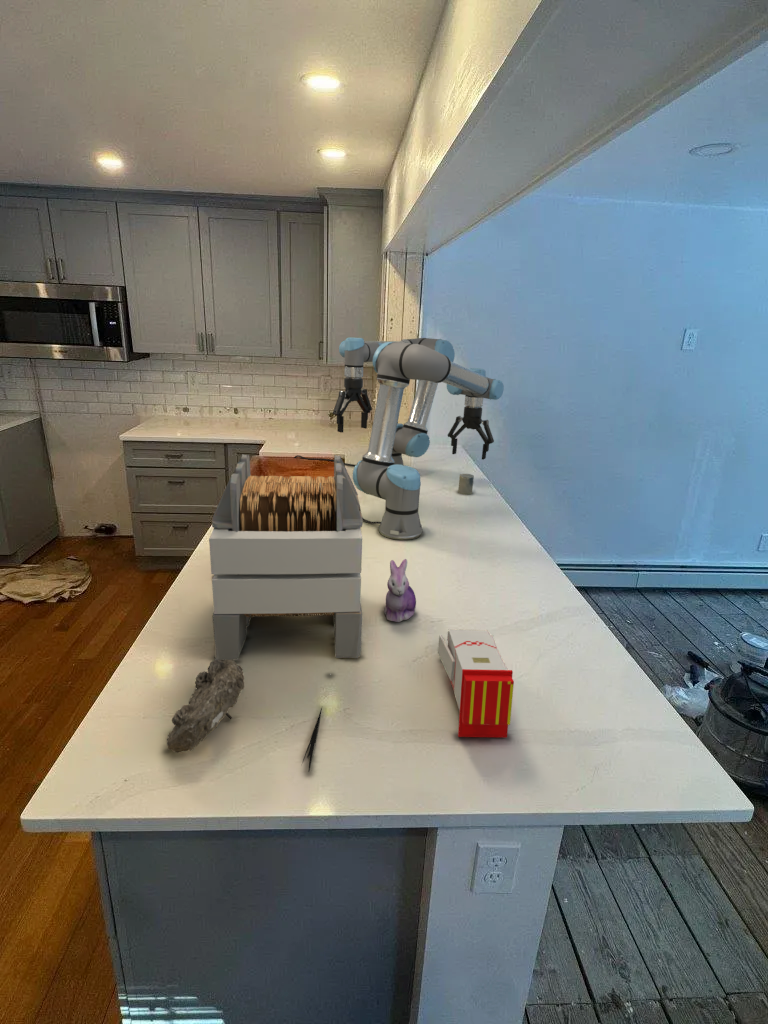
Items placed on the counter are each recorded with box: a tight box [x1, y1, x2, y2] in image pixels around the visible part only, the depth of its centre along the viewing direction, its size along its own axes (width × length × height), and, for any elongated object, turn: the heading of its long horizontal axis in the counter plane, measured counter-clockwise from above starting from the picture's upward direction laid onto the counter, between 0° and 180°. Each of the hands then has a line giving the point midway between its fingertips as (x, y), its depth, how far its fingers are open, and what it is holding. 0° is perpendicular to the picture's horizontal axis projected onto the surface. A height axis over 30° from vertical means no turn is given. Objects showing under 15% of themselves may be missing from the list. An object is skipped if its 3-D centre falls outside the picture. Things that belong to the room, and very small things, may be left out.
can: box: [457, 473, 475, 496], centre depth 247 cm, size 6×6×8 cm
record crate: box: [208, 453, 364, 661], centre depth 135 cm, size 34×33×41 cm
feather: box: [301, 673, 332, 771], centre depth 108 cm, size 2×28×2 cm
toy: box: [437, 628, 515, 738], centre depth 117 cm, size 12×13×30 cm
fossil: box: [166, 659, 245, 754], centre depth 106 cm, size 22×10×15 cm
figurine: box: [384, 558, 417, 623], centre depth 145 cm, size 9×10×15 cm
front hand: (468, 456), depth 243 cm, fingers open, 13 cm apart
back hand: (352, 430), depth 235 cm, fingers open, 13 cm apart
